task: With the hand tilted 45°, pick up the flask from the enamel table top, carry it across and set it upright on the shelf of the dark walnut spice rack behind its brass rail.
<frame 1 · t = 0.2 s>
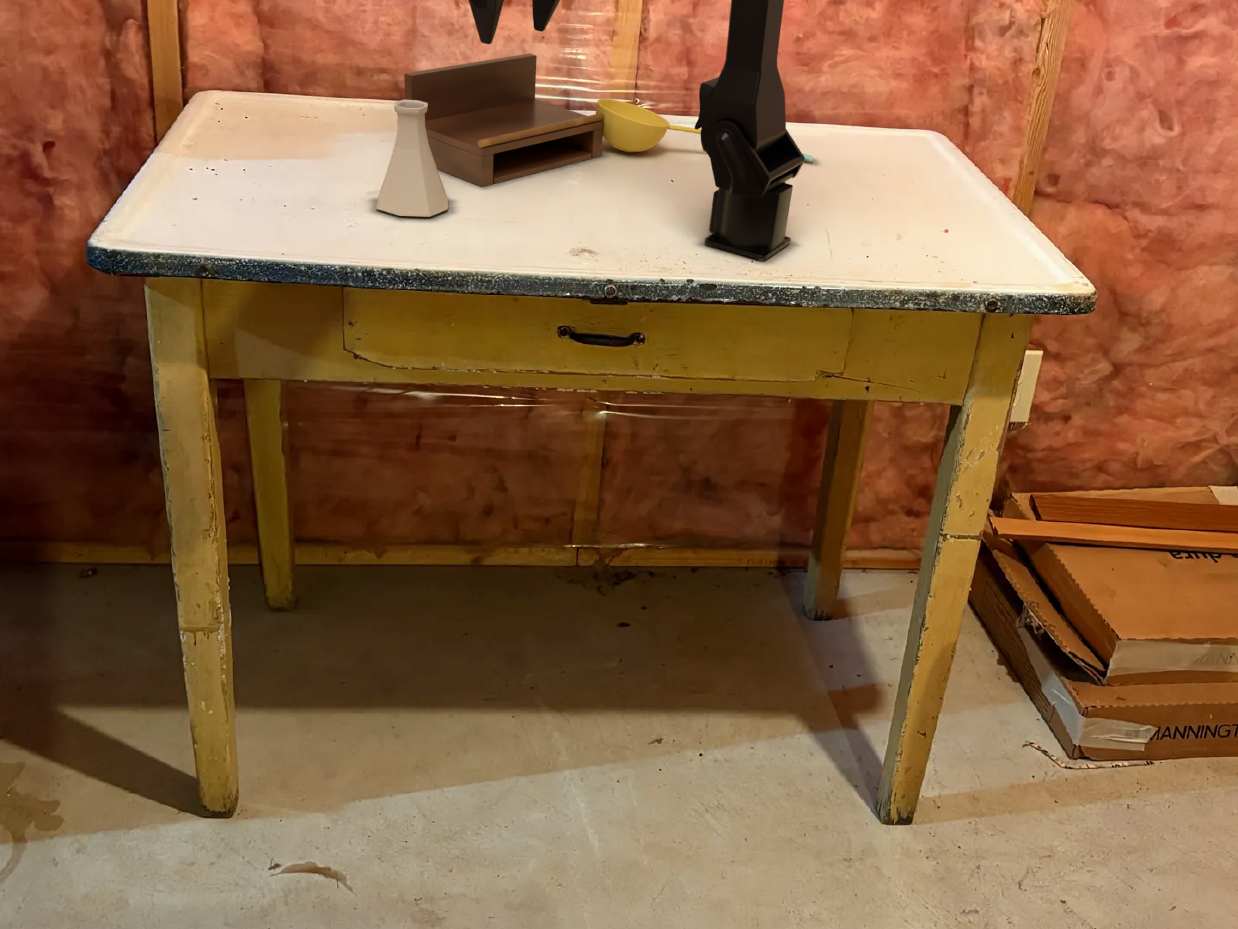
hand: (513, 36, 115), 15 cm above the table, tool pointing down, fingers open, 9 cm apart
flask: (412, 208, 113), on the table
spice rack: (509, 157, 129), on the table
ladle: (703, 156, 135), on the table
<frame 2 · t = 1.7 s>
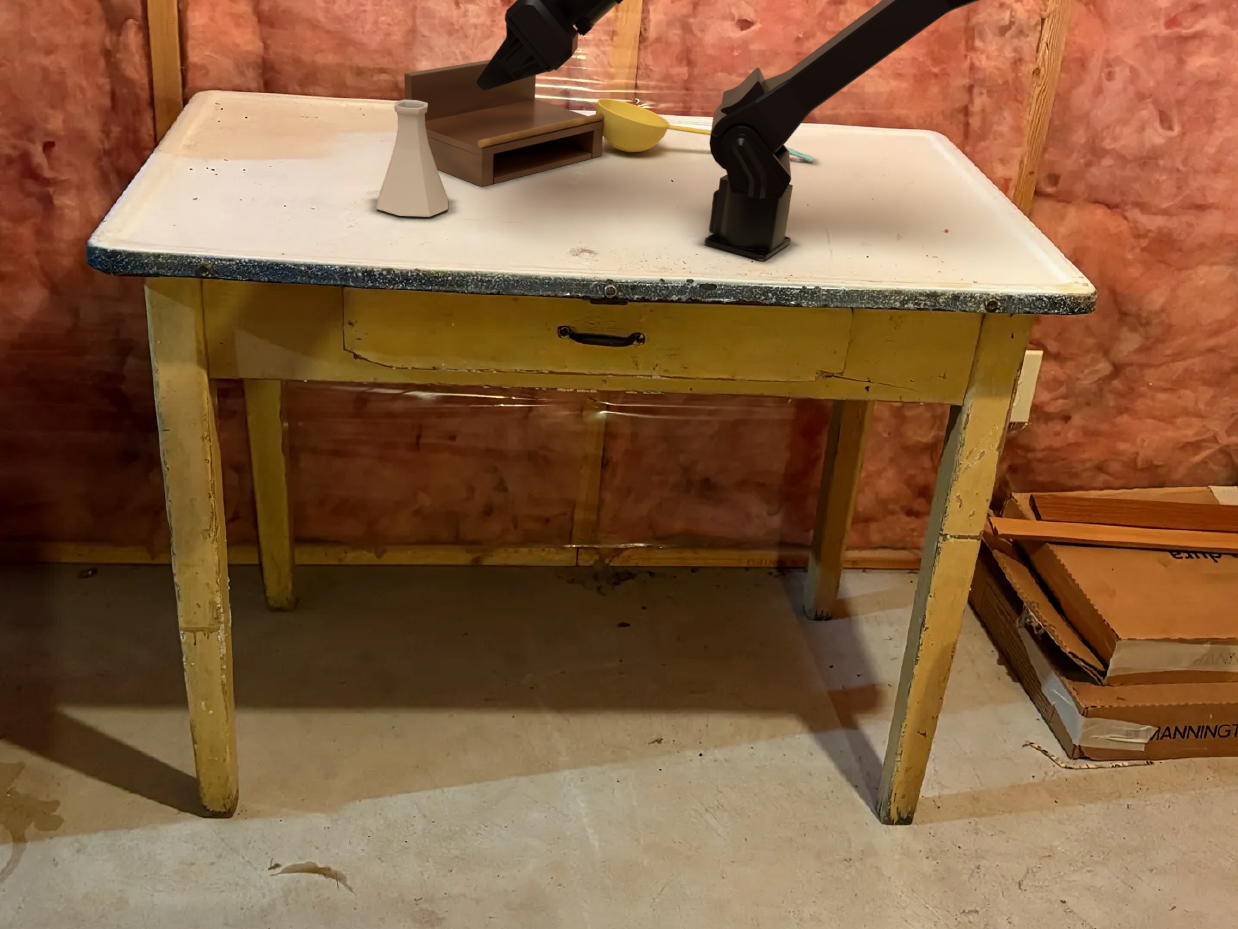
hand: (490, 74, 105), 13 cm above the table, tool tilted 45°, fingers open, 9 cm apart
nothing on the table moved.
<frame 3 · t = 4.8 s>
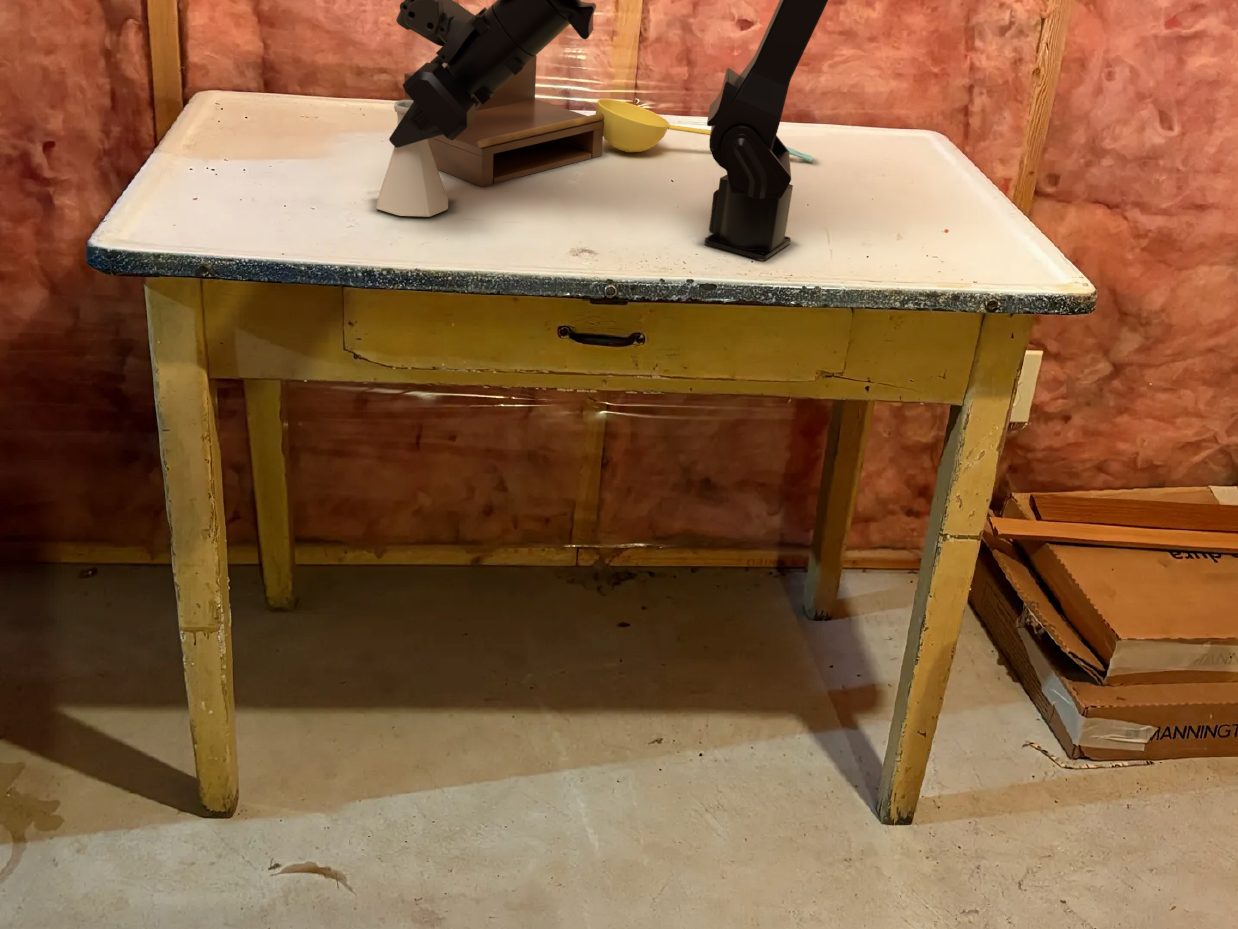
hand: (397, 138, 109), 7 cm above the table, tool tilted 45°, fingers closed on flask, 3 cm apart
flask: (412, 208, 113), on the table, touching gripper
everything else where it was.
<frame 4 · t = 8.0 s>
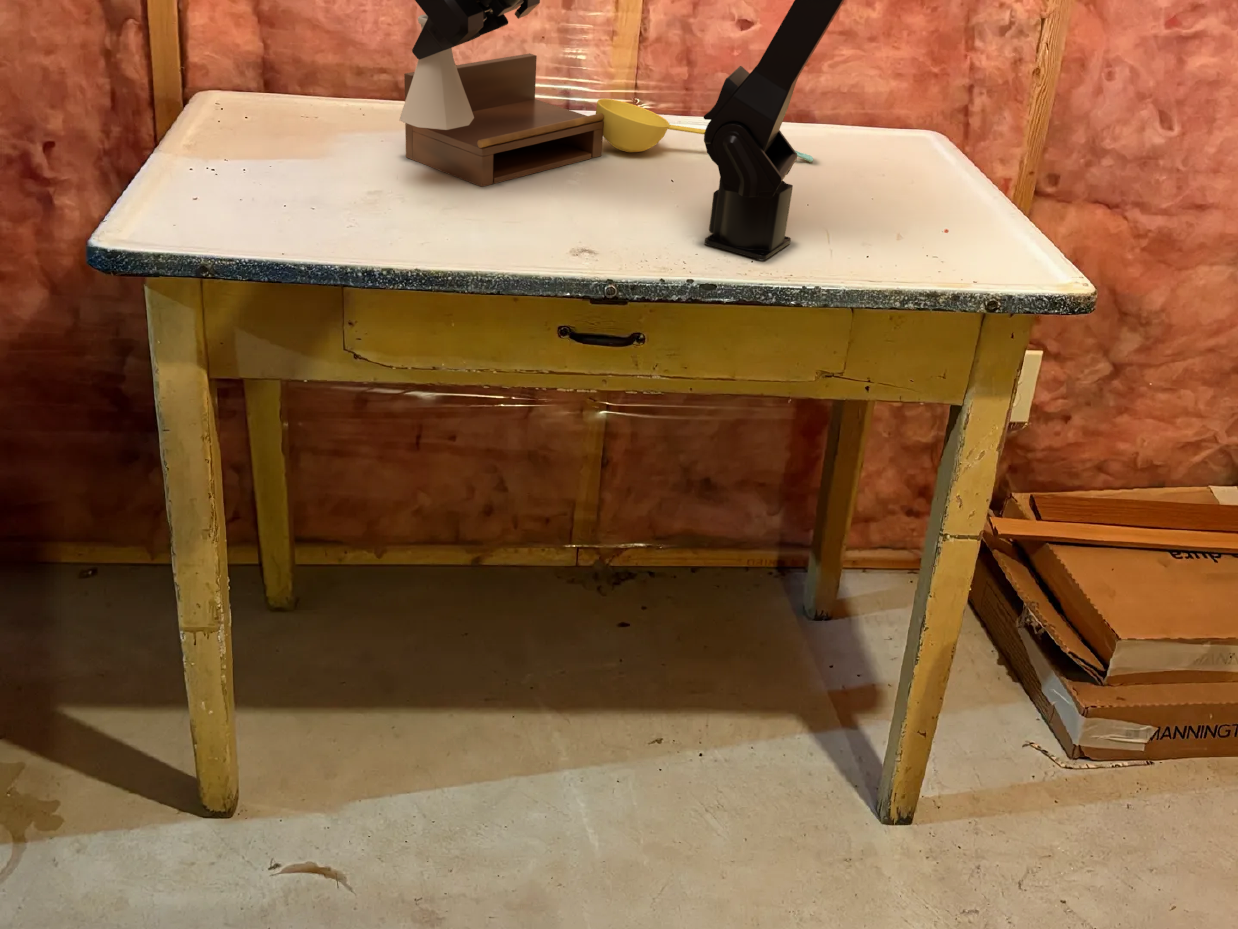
hand: (423, 52, 112), 13 cm above the table, tool tilted 45°, fingers closed on flask, 3 cm apart
flask: (437, 123, 115), point 7 cm above the table, touching gripper
everything else where it was.
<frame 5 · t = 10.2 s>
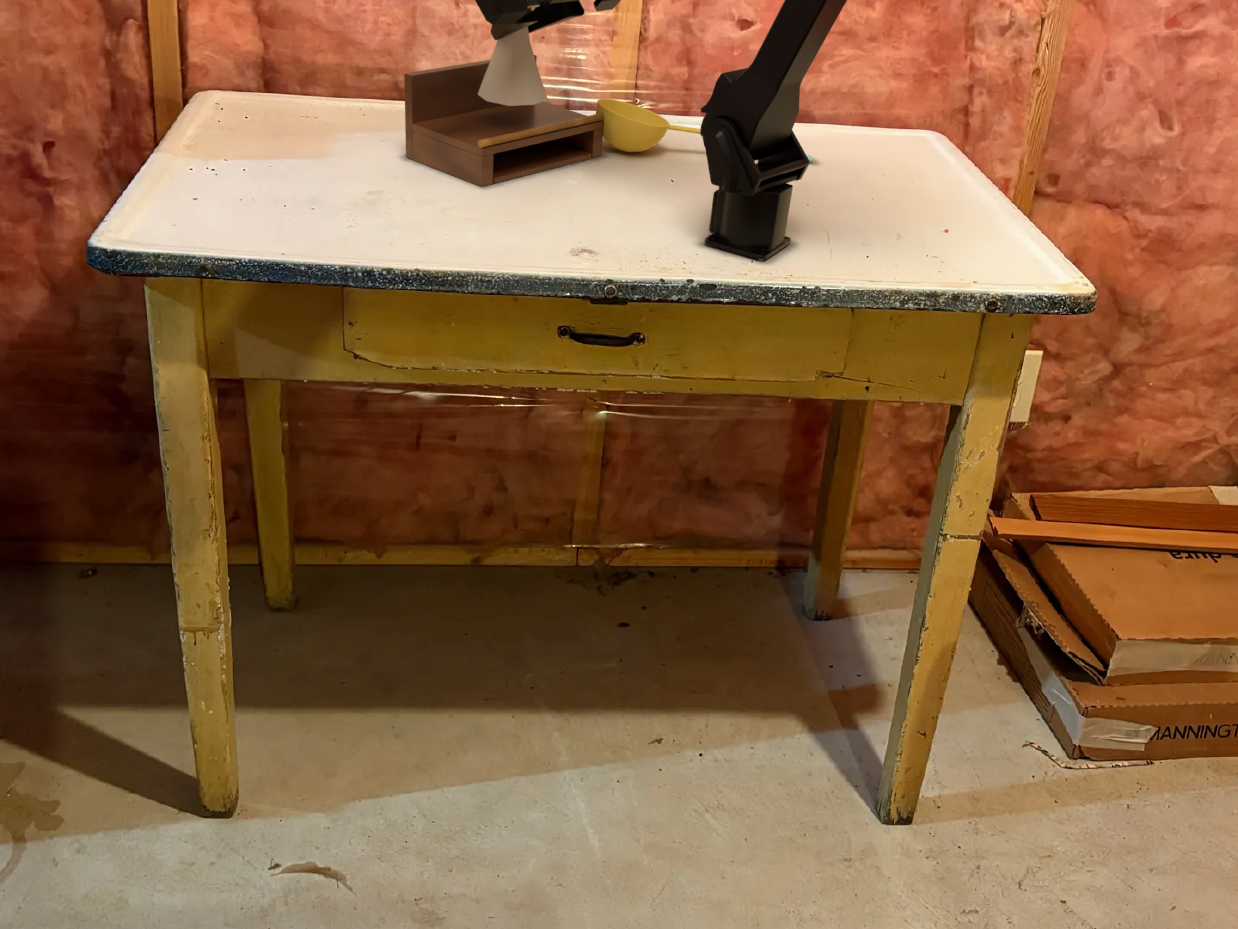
hand: (505, 34, 122), 13 cm above the table, tool tilted 45°, fingers closed on flask, 3 cm apart
flask: (512, 101, 125), point 6 cm above the table, touching gripper
everything else where it was.
when the fingers open (11 cm above the table, at t = 11.4 s): flask stays where it is, resting on spice rack.
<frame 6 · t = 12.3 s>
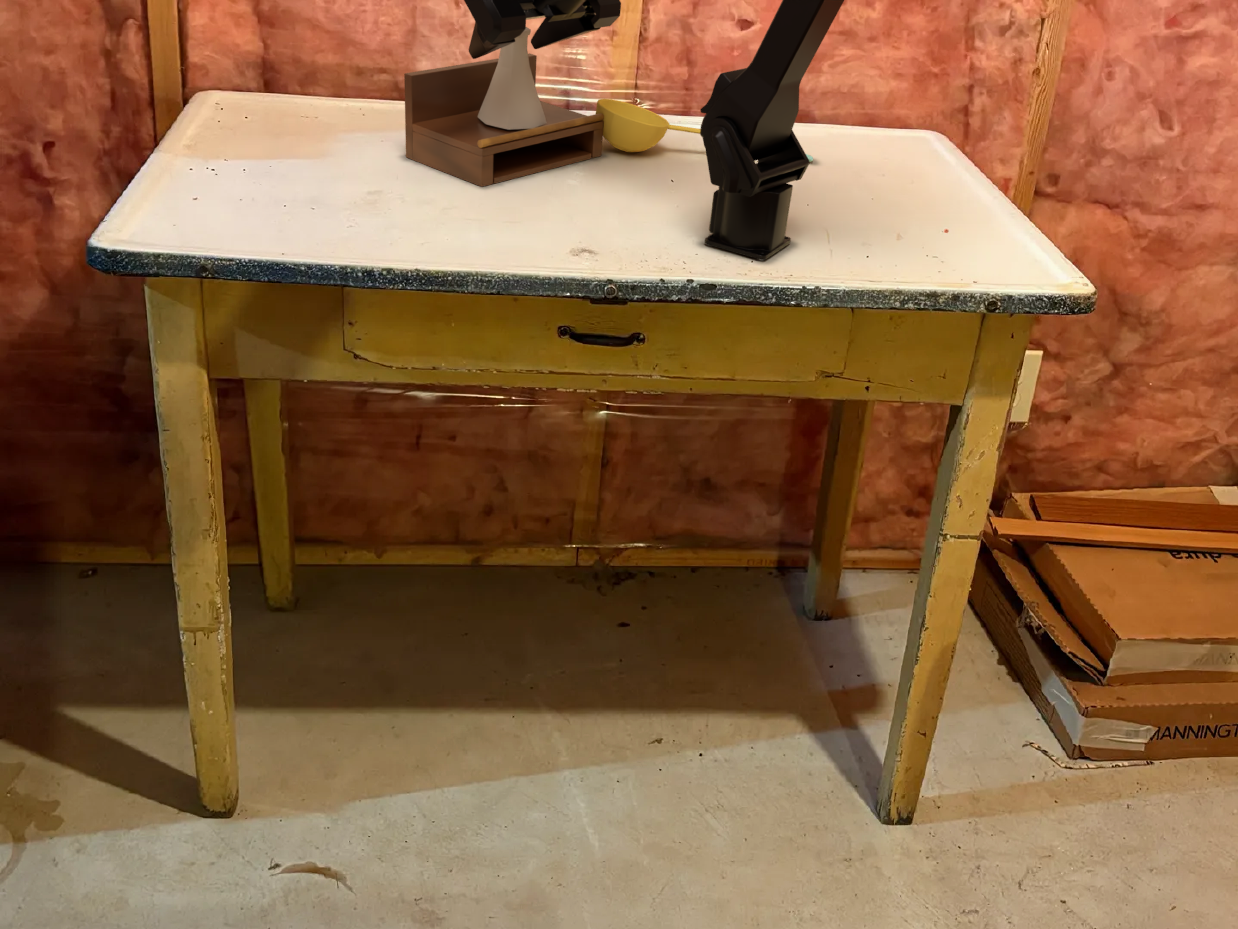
hand: (503, 49, 123), 11 cm above the table, tool tilted 45°, fingers open, 9 cm apart
flask: (511, 124, 126), point 4 cm above the table, touching spice rack
everything else where it was.
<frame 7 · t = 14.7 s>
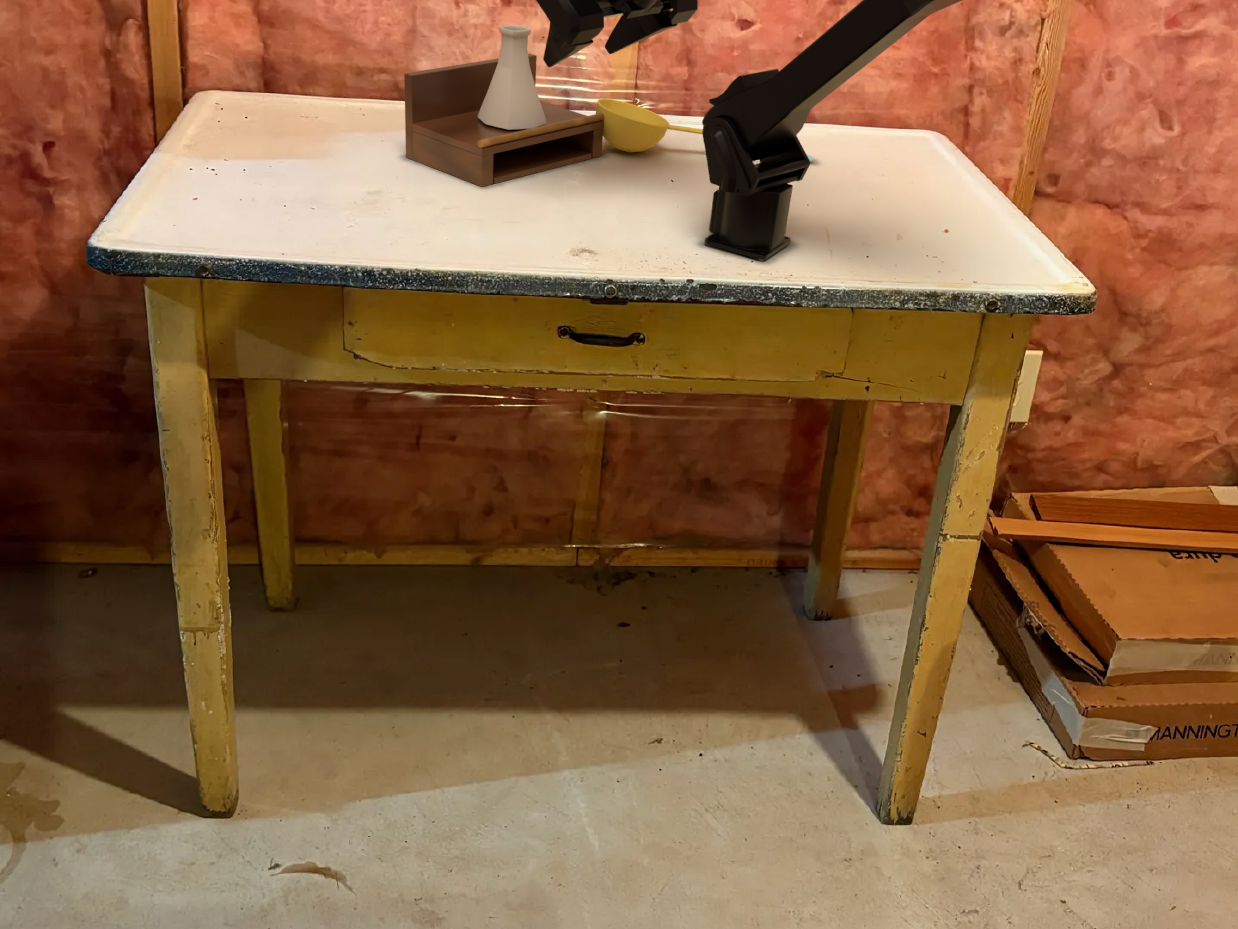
hand: (578, 56, 118), 13 cm above the table, tool tilted 40°, fingers open, 9 cm apart
nothing on the table moved.
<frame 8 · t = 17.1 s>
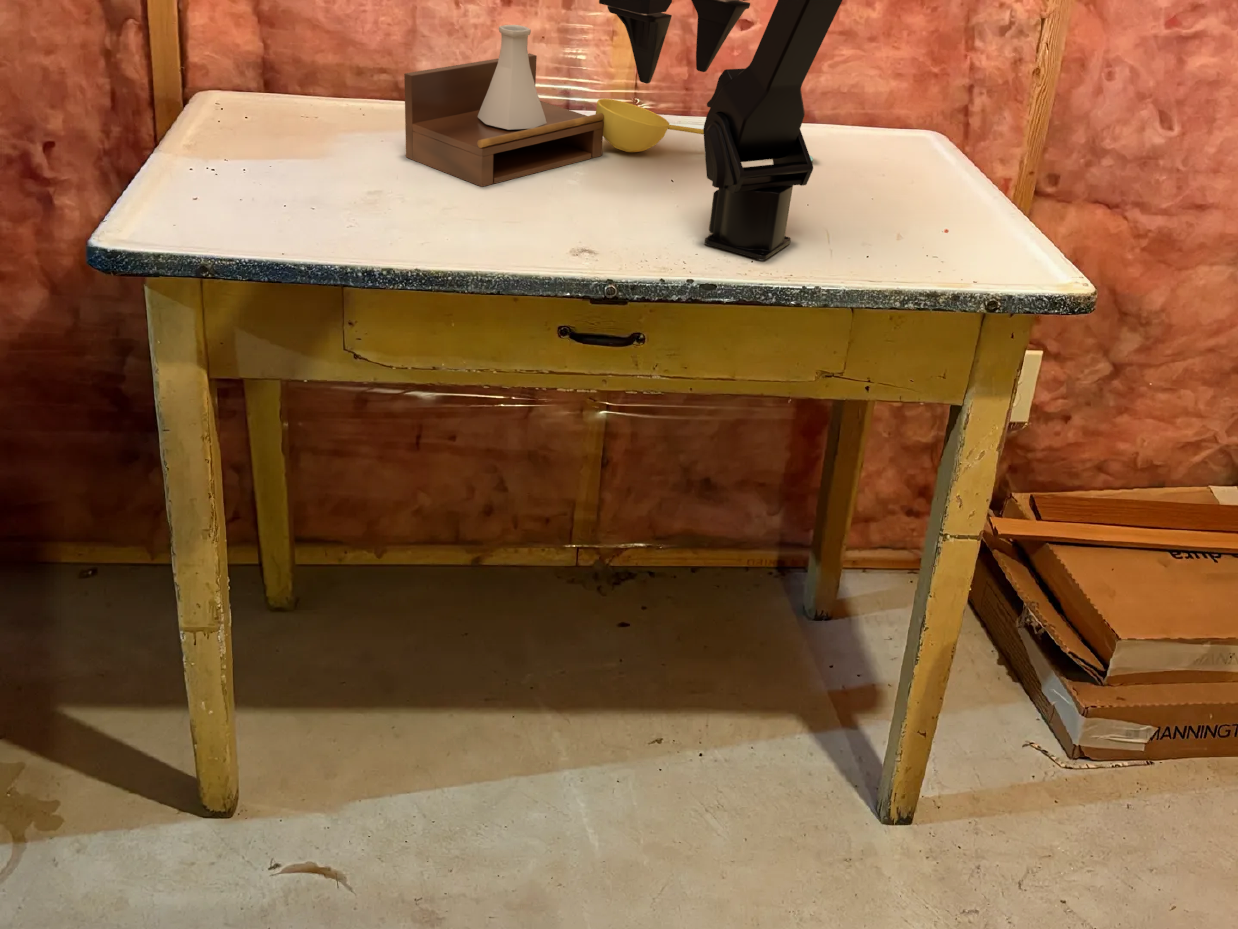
hand: (673, 76, 116), 12 cm above the table, tool pointing down, fingers open, 9 cm apart
nothing on the table moved.
at the end: flask inside the target area on the spice rack (0.2 cm from its centre), point 3.8 cm above the spice rack's base; flask tilted 0°; the gripper is holding nothing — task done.
